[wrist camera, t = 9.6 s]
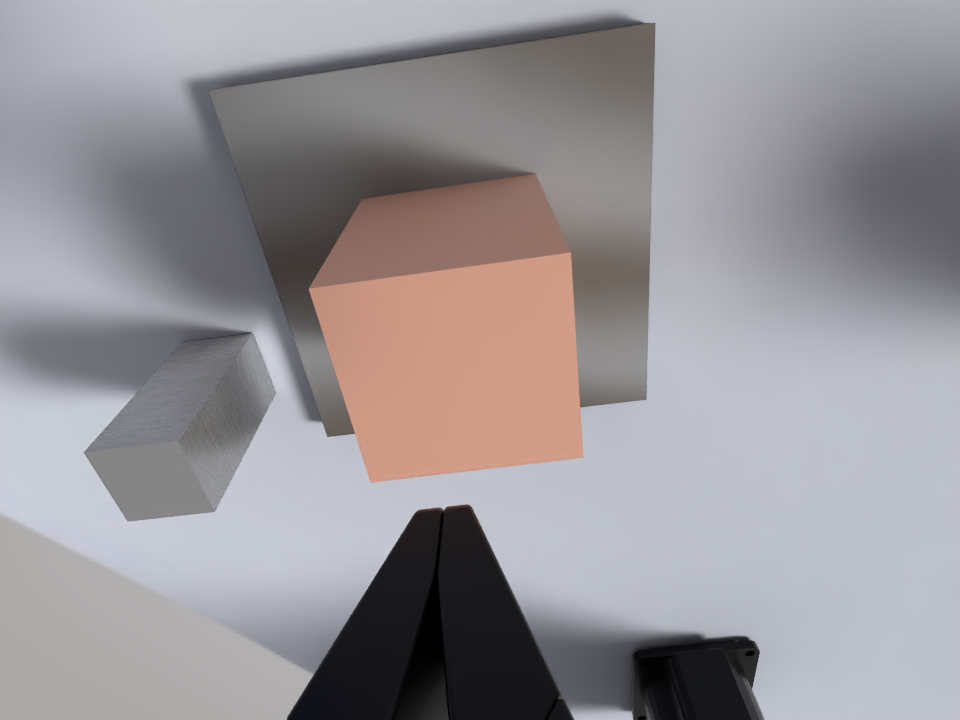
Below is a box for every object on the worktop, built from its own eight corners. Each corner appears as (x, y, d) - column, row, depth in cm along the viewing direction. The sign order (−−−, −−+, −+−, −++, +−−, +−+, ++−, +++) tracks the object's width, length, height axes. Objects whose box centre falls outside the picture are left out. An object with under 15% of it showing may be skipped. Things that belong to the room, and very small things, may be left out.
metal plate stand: (640, 387, 22) (698, 510, 16) (331, 423, 22) (287, 554, 17) (646, 23, 15) (744, 24, 10) (219, 87, 16) (92, 121, 11)
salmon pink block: (549, 329, 19) (582, 457, 14) (398, 348, 20) (370, 482, 14) (535, 173, 17) (570, 252, 11) (362, 199, 17) (308, 288, 11)
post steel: (276, 393, 21) (214, 511, 16) (209, 401, 21) (127, 521, 16) (252, 333, 20) (178, 441, 15) (182, 342, 20) (83, 452, 15)
